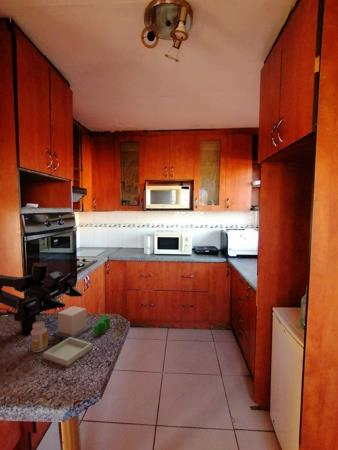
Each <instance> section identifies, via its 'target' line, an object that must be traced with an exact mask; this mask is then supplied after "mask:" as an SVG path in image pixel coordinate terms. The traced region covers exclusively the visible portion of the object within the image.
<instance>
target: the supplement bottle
mask: <svg viewBox="0 0 338 450" xmlns="http://www.w3.org/2000/svg"><path fill="white" fill-rule="evenodd" d="M30 340H31V352H33V353H40V352H42V351H46V349H48V345H49V344H48V341H49V340H48V329H47V327H46V325H45V321H44V320H39V321H36V323H34V324H33V330H32V331H31V334H30Z"/></svg>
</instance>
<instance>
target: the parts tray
mask: <svg viewBox="0 0 338 450" xmlns="http://www.w3.org/2000/svg"><path fill="white" fill-rule="evenodd" d="M92 350H94V349H93V343H92V342H88V341H85V340H81V339H79V338H78V339H77V338H72V337H69V338H65V339H64V340H63V341H61V342H59V343H57V344H55V345H54V346H52V347H50V348H49V349H47V350H44V352H43V353H42V354H43V360H46V361H49V362H52V363H54V364H57V365H60V366H63V367H66V368H68V367H70V366H71V365H72V364H74V363H75V362H76V361H78V360H80V359H81V358H83V357H84V356H85V355H86V354H88V353H89V352H90V351H92Z"/></svg>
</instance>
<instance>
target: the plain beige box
mask: <svg viewBox="0 0 338 450" xmlns="http://www.w3.org/2000/svg"><path fill="white" fill-rule="evenodd" d="M87 319H88V318H87V308H84V307H81V306H80V307H79V306H75V305H73V306H70V307H68V308H65V309H63V310H61V311H58V312H57V321H58V323H57V324H58V329H57V330H54V331H53V332H52V333H53V335H54V336H58V337H60V338H64V339H67V338H69V337H72V338H75V339H77V338H78V337H80V336H81V335H83V334H85V333H86V332H88V331H90V330H92V329H93V326H92V325H89V324H88V323H87Z"/></svg>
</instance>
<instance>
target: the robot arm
mask: <svg viewBox="0 0 338 450" xmlns="http://www.w3.org/2000/svg"><path fill="white" fill-rule="evenodd" d="M48 271H49V263H47V262H32V263H31V272H30V273H31V274H30V275H26V276H12V275H11V276H9V275H4V274H0V304H2V305H5V306H7V307H10V308H12V309H14V310H16V312H15V314H14V315H13V318H14V321H16V322H18V323H19V328H20V330H17V331H16V334H18V335H19V334H20V335H23V336H25V337H26V336H28V335H31V331H32V330H33V324H34V323H36V322H37V317H36V316H39V315H41V313H42V312H46V311H50V310H55V309H59V308H65V307H66V303H64V302H62V301H60V300H58V299H59V298H61V296H64V295H65V296H68V297H82V296H83V293H82V292H81V291H80V290H79V289H78V288H77V280H76V279H74V278H70V279H69V280H67V281H65V282H64V283H63V285H64V286H63V288H61V287H62V286H61V283H60V281H61V280H62V279H63V276H64V275H63V272H61V271H54V272H51V273H49V274H48ZM4 287H8V288H12V289H14V290H15V291H17V292H18V293H24V292H27V291H28V292H29V293H28V294H29V295H28V296H25V297H20V296H18V295H15V294H12V293H10V292H7V291H5V290H3V288H4Z"/></svg>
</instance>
